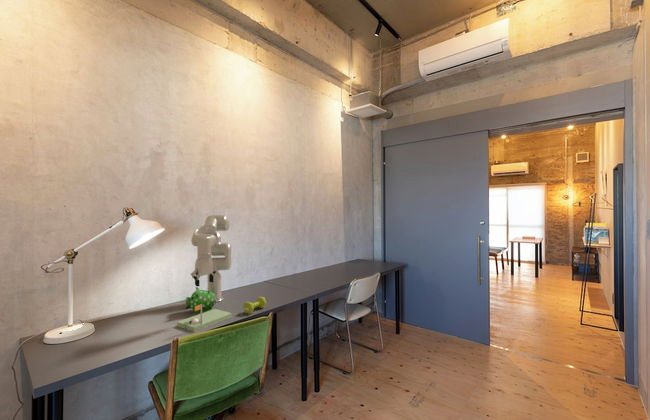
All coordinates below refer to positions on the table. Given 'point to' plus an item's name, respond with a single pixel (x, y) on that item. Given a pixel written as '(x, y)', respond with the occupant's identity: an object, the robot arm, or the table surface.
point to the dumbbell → (254, 305)
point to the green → (204, 319)
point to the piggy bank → (201, 300)
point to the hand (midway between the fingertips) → (204, 284)
